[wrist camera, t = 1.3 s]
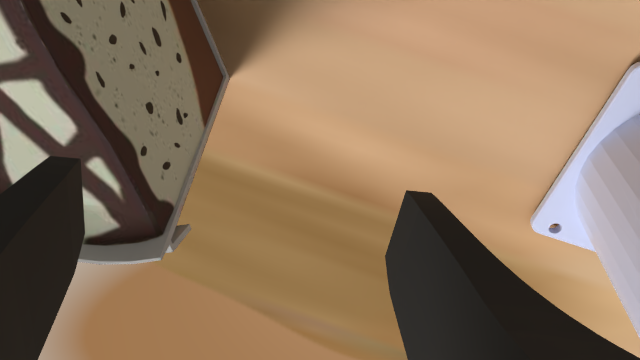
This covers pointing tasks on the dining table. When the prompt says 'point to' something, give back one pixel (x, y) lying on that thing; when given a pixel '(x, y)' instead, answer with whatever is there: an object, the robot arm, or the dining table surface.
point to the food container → (111, 111)
